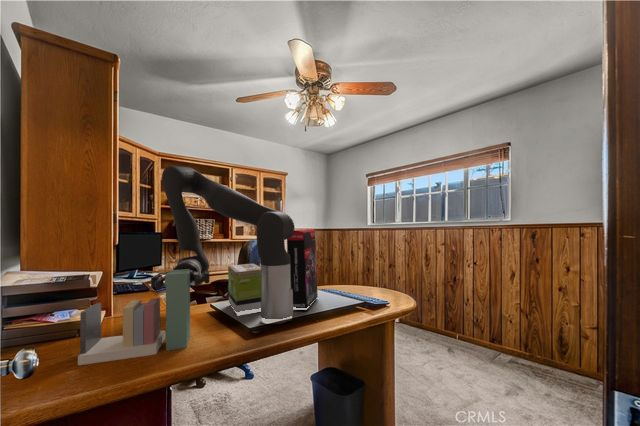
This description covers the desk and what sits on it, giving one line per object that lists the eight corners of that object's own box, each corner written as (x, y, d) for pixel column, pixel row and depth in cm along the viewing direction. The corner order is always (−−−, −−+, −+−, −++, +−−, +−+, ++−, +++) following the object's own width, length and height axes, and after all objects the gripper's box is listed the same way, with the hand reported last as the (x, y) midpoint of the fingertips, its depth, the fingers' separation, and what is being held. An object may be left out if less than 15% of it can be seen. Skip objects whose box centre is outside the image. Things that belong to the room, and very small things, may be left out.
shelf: (165, 338, 76) (165, 296, 76) (156, 354, 66) (156, 306, 67) (97, 346, 71) (98, 302, 72) (77, 365, 62) (78, 313, 62)
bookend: (100, 339, 71) (101, 302, 71) (85, 353, 63) (85, 312, 64) (96, 340, 71) (96, 303, 71) (80, 354, 63) (80, 312, 63)
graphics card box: (307, 312, 95) (305, 230, 96) (287, 311, 96) (285, 230, 97) (318, 298, 112) (316, 228, 113) (300, 298, 113) (299, 229, 114)
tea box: (227, 305, 105) (227, 265, 106) (255, 301, 110) (254, 262, 110) (236, 317, 92) (235, 270, 92) (266, 312, 96) (265, 268, 97)
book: (190, 336, 76) (189, 268, 77) (186, 347, 70) (186, 273, 70) (171, 339, 75) (171, 270, 76) (166, 350, 68) (165, 274, 69)
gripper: (160, 262, 86) (145, 271, 70) (211, 259, 90) (208, 267, 74) (160, 287, 85) (145, 302, 70) (211, 283, 90) (208, 296, 74)
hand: (177, 284), depth 72 cm, fingers open, 8 cm apart
